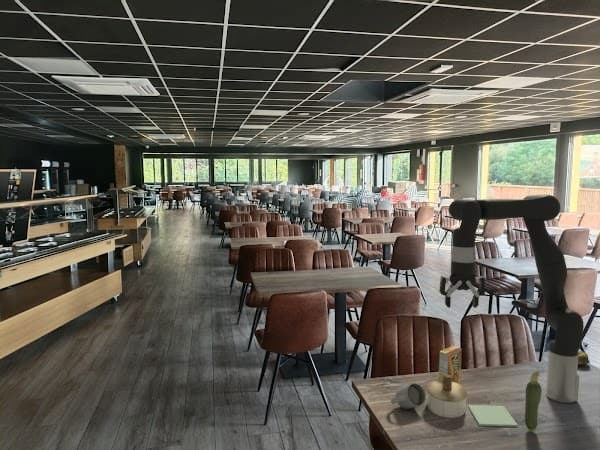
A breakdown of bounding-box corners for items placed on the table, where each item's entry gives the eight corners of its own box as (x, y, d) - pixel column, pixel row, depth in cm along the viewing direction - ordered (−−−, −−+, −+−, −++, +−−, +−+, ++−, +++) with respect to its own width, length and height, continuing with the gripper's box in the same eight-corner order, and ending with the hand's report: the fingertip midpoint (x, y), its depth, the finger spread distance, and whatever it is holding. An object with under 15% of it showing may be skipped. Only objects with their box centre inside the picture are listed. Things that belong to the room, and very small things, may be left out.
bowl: (458, 400, 162) (459, 384, 161) (469, 418, 150) (469, 401, 149) (424, 399, 162) (425, 383, 162) (432, 417, 151) (432, 400, 150)
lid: (460, 384, 161) (461, 368, 161) (472, 402, 149) (472, 385, 148) (423, 383, 162) (424, 368, 162) (431, 401, 149) (432, 384, 149)
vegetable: (521, 427, 145) (524, 367, 142) (533, 426, 145) (537, 366, 143) (529, 434, 140) (532, 373, 138) (542, 434, 141) (545, 372, 138)
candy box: (451, 383, 175) (452, 345, 173) (461, 387, 172) (462, 348, 170) (437, 390, 170) (438, 351, 168) (447, 394, 166) (449, 354, 165)
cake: (594, 366, 190) (595, 353, 190) (569, 365, 191) (570, 353, 190) (580, 356, 200) (581, 344, 200) (557, 356, 201) (558, 344, 200)
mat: (503, 407, 157) (503, 405, 157) (517, 426, 145) (517, 424, 145) (468, 406, 158) (468, 404, 158) (479, 425, 146) (479, 423, 146)
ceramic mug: (411, 411, 158) (412, 388, 162) (426, 408, 151) (426, 385, 155) (385, 404, 155) (386, 381, 159) (399, 402, 148) (399, 378, 152)
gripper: (481, 257, 153) (479, 304, 155) (438, 257, 154) (437, 303, 156) (489, 261, 146) (487, 310, 148) (443, 261, 147) (442, 310, 149)
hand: (461, 307), depth 152 cm, fingers open, 8 cm apart
